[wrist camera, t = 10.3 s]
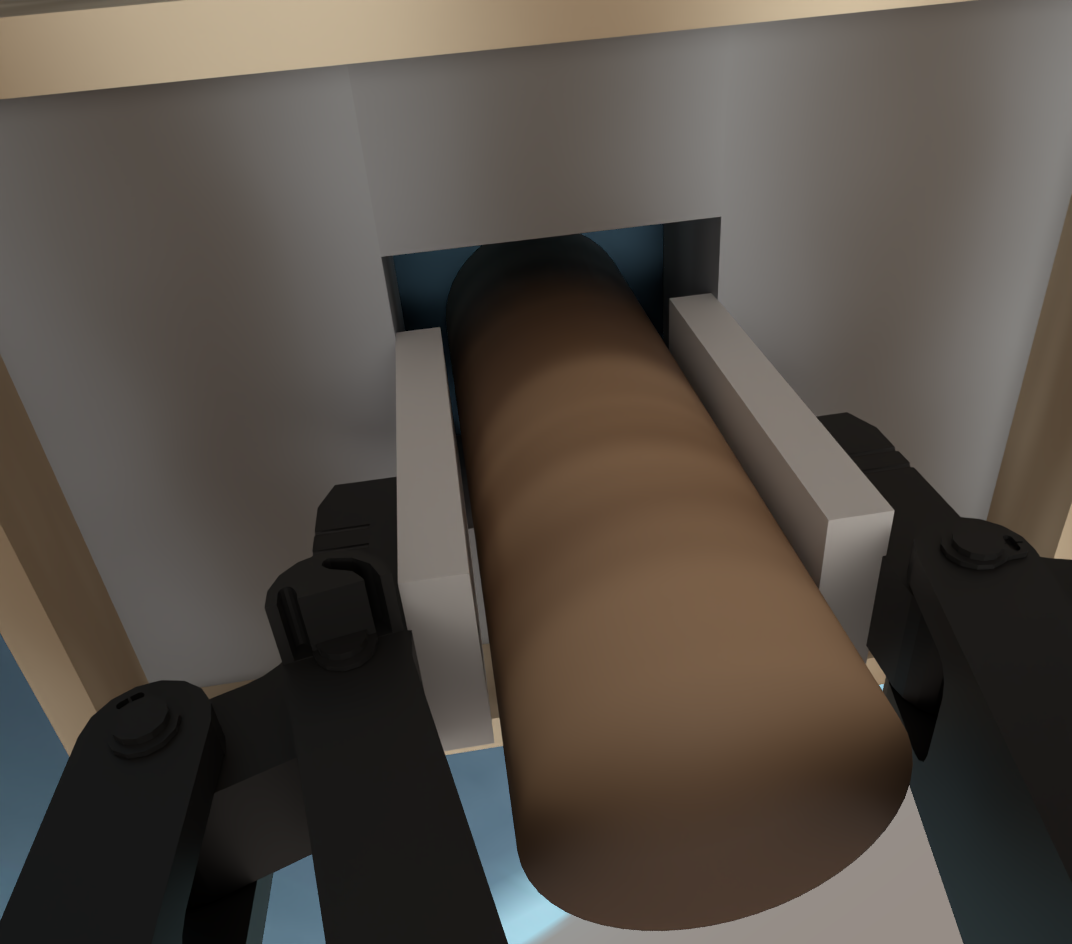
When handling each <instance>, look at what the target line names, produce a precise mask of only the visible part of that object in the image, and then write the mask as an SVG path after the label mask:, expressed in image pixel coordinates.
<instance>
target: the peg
mask: <svg viewBox="0 0 1072 944" xmlns="http://www.w3.org/2000/svg"><path fill="white" fill-rule="evenodd" d="M446 327H447V335H448V342H449V349H450V357H451V364H452V372H453V379H454V386H455V394H456V401H457V409H458V416H459V423H460V431H461V438H462V445H463V453H464V460H465V468H466V475H467V482H468V490H469V497H470V505H471V512H472V519H473V527H474V534H475V541H476V549H477V556H478V564H479V571H480V578H481V586H482V593H483V601H484V608H485V615H486V623H487V630H488V637H489V645H490V652H491V660H492V667H493V674H494V682H495V689H496V697H497V704H498V711H499V719H500V726H501V733H502V741H503V748H504V756H505V763H506V770H507V778H508V785H509V793H510V800H511V807H512V815H513V822H514V829H515V837H516V844H517V851H518V855H519V859H520V862H521V866H522V868H523V870H524V872H525V874H526V876H527V878H528V879H529V881H530V882H531V883H532V885H533V886H534V887H535V888H536V889H537V891H538V892H539V893H540V894H541V895H543V896H544V897H545V898H546V899H547V900H548V901H550V902H551V903H552V904H554V905H555V906H557V907H559V908H560V909H562V910H564V911H565V912H567V913H569V914H572V915H574V916H576V917H579V918H581V919H583V920H587V921H590V922H593V923H597V924H600V925H604V926H610V927H615V928H621V929H631V930H641V931H669V930H683V929H692V928H699V927H706V926H712V925H716V924H721V923H725V922H730V921H734V920H737V919H741V918H744V917H748V916H751V915H754V914H758V913H760V912H763V911H765V910H768V909H771V908H774V907H777V906H779V905H781V904H783V903H786V902H788V901H790V900H792V899H794V898H797V897H799V896H801V895H803V894H805V893H806V892H808V891H810V890H812V889H814V888H816V887H817V886H819V885H821V884H822V883H824V882H825V881H827V880H829V879H830V878H832V877H833V876H835V875H836V874H838V873H839V872H841V871H842V870H843V869H844V868H846V867H847V866H849V865H850V864H851V863H852V862H854V861H855V860H856V859H857V858H858V857H860V855H862V854H863V853H864V852H865V851H866V850H867V849H868V848H869V847H870V846H871V845H872V844H873V843H874V842H875V841H876V840H877V839H878V838H879V837H880V835H881V834H882V833H883V832H884V831H885V830H886V828H887V827H888V825H889V824H890V823H891V821H892V820H893V818H894V817H895V815H896V814H897V812H898V810H899V808H900V806H901V804H902V802H903V800H904V799H905V796H906V793H907V790H908V787H909V784H910V781H911V774H912V767H913V758H912V747H911V743H910V740H909V736H908V733H907V731H906V729H905V727H904V726H903V724H902V722H901V720H900V718H899V717H898V715H897V713H896V712H895V710H894V709H893V707H892V705H891V704H890V702H889V701H888V699H887V697H886V696H885V694H884V693H883V691H882V689H881V688H880V686H879V685H878V683H877V681H876V680H875V678H874V677H873V675H872V674H871V672H870V670H869V669H868V667H867V666H866V664H865V662H864V661H863V659H862V658H861V656H860V654H859V653H858V651H857V650H856V648H855V646H854V645H853V643H852V642H851V640H850V638H849V637H848V635H847V634H846V632H845V630H844V629H843V627H842V626H841V624H840V622H839V621H838V619H837V618H836V616H835V614H834V613H833V611H832V610H831V608H830V606H829V605H828V603H827V602H826V600H825V598H824V597H823V595H822V594H821V592H820V590H819V589H818V587H817V586H816V584H815V582H814V581H813V579H812V578H811V576H810V575H809V573H808V571H807V570H806V568H805V567H804V565H803V563H802V562H801V560H800V559H799V557H798V555H797V554H796V552H795V551H794V549H793V547H792V546H791V544H790V543H789V541H788V539H787V538H786V536H785V535H784V533H783V531H782V530H781V528H780V527H779V525H778V523H777V522H776V520H775V519H774V517H773V515H772V514H771V512H770V511H769V509H768V507H767V506H766V504H765V503H764V501H763V499H762V498H761V496H760V495H759V493H758V491H757V490H756V488H755V487H754V485H753V483H752V482H751V480H750V479H749V477H748V476H747V474H746V472H745V471H744V469H743V468H742V466H741V464H740V463H739V461H738V460H737V458H736V456H735V455H734V453H733V452H732V450H731V448H730V447H729V445H728V444H727V442H726V440H725V439H724V437H723V436H722V434H721V432H720V431H719V429H718V428H717V426H716V424H715V423H714V421H713V420H712V418H711V416H710V415H709V413H708V412H707V410H706V408H705V407H704V405H703V404H702V402H701V400H700V399H699V397H698V396H697V394H696V392H695V391H694V389H693V388H692V386H691V384H690V383H689V381H688V380H687V378H686V377H685V375H684V373H683V372H682V370H681V369H680V367H679V365H678V364H677V362H676V361H675V359H674V357H673V356H672V354H671V353H670V351H669V349H668V348H667V346H666V345H665V343H664V341H663V340H662V338H661V337H660V335H659V333H658V332H657V330H656V329H655V327H654V325H653V324H652V322H651V321H650V319H649V317H648V316H647V314H646V313H645V311H644V309H643V308H642V306H641V305H640V303H639V301H638V300H637V298H636V297H635V295H634V293H633V292H632V290H631V289H630V287H629V285H628V284H627V282H626V281H625V279H624V278H623V276H622V274H621V273H620V271H619V270H618V268H617V266H616V265H615V263H614V262H613V260H612V259H611V258H610V257H609V255H608V254H607V253H606V252H605V251H604V250H603V249H602V248H601V247H600V246H599V245H597V244H596V243H595V242H593V241H592V240H591V239H589V238H587V237H585V236H583V235H581V234H580V233H578V234H570V235H561V236H553V237H545V238H536V239H528V240H519V241H511V242H502V243H494V244H486V245H483V246H481V247H480V248H479V249H478V250H477V251H475V252H474V253H473V254H472V255H471V257H470V258H469V259H468V260H467V261H466V262H465V263H464V265H463V266H462V268H461V269H460V271H459V272H458V274H457V276H456V278H455V280H454V282H453V284H452V287H451V290H450V292H449V296H448V301H447V306H446Z"/></svg>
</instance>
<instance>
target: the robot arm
mask: <svg viewBox="0 0 1072 944" xmlns="http://www.w3.org/2000/svg"><path fill="white" fill-rule="evenodd" d="M669 351H670V353H671V354H672V356H673V357H674V359H675V361H676V362H677V364H678V365H679V367H680V369H681V370H682V372H683V373H684V375H685V377H686V378H687V380H688V381H689V383H690V384H691V386H692V388H693V389H694V391H695V392H696V394H697V396H698V397H699V399H700V400H701V402H702V404H703V405H704V407H705V408H706V410H707V412H708V413H709V415H710V416H711V418H712V420H713V421H714V423H715V424H716V426H717V428H718V429H719V431H720V432H721V434H722V436H723V437H724V439H725V440H726V442H727V444H728V445H729V447H730V448H731V450H732V452H733V453H734V455H735V456H736V458H737V460H738V461H739V463H740V464H741V466H742V468H743V469H744V471H745V472H746V474H747V476H748V477H749V479H750V480H751V482H752V483H753V485H754V487H755V488H756V490H757V491H758V493H759V495H760V496H761V498H762V499H763V501H764V503H765V504H766V506H767V507H768V509H769V511H770V512H771V514H772V515H773V517H774V519H775V520H776V522H777V523H778V525H779V527H780V528H781V530H782V531H783V533H784V535H785V536H786V538H787V539H788V541H789V543H790V544H791V546H792V547H793V549H794V551H795V552H796V554H797V555H798V557H799V559H800V560H801V562H802V563H803V565H804V567H805V568H806V570H807V571H808V573H809V575H810V576H811V578H812V579H813V581H814V582H815V584H816V586H817V587H818V589H819V590H820V592H821V594H822V595H823V597H824V598H825V600H826V602H827V603H828V605H829V606H830V608H831V610H832V611H833V613H834V614H835V616H836V618H837V619H838V621H839V622H840V624H841V626H842V627H843V629H844V630H845V632H846V634H847V635H848V637H849V638H850V640H851V642H852V643H853V645H854V646H855V648H856V650H857V651H858V653H859V654H860V656H861V658H862V659H863V661H864V662H865V664H866V662H867V656H868V651H870V652H871V654H872V655H873V657H874V658H875V660H876V662H877V663H878V665H879V666H880V668H881V669H882V671H883V672H884V674H885V675H886V678H885V683H884V688H883V693H884V694H885V696H886V697H887V699H888V701H889V702H890V704H891V705H892V707H893V709H894V710H895V712H896V713H897V715H898V717H899V718H900V720H901V722H902V724H903V726H904V727H905V729H906V731H907V733H908V736H909V740H910V743H911V747H912V758H913V767H912V774H911V781H910V784H909V785H910V788H911V791H912V794H913V797H914V800H915V803H916V806H917V809H918V812H919V814H920V817H921V820H922V823H923V826H924V829H925V832H926V835H927V838H928V841H929V844H930V847H931V850H932V852H933V856H934V858H935V861H936V864H937V867H938V870H939V873H940V876H941V879H942V882H943V884H944V888H945V890H946V893H947V896H948V899H949V902H950V905H951V908H952V911H953V914H954V917H955V920H956V923H957V926H958V929H959V932H960V934H961V937H962V940H963V943H964V944H1072V560H1070V559H1055V558H1046V557H1040V556H1039V554H1038V553H1037V551H1036V550H1035V549H1034V548H1033V547H1032V546H1031V545H1030V544H1029V543H1028V542H1027V541H1026V540H1025V539H1024V538H1023V537H1022V536H1021V535H1019V534H1017V533H1015V532H1013V531H1011V530H1010V529H1008V528H1006V527H1004V526H1002V525H999V524H995V523H992V522H989V521H985V520H982V519H976V518H964V517H960V516H959V515H958V514H957V513H956V511H955V510H954V509H953V508H952V507H951V506H950V505H949V504H948V503H947V502H946V501H945V500H944V499H943V498H942V497H941V495H940V494H939V493H938V492H937V491H936V490H935V489H934V488H933V487H932V486H931V485H930V484H929V483H928V482H927V481H926V479H925V478H924V477H923V476H922V475H921V474H920V473H919V472H918V471H917V470H916V469H915V468H914V467H910V462H909V461H908V460H907V459H906V458H905V457H904V456H903V455H902V454H901V453H900V452H899V451H895V446H894V445H893V444H892V443H891V442H890V441H889V440H888V439H887V438H886V437H885V436H884V435H883V434H882V433H881V432H880V430H879V429H878V428H877V427H875V426H873V425H871V424H869V423H867V422H865V421H863V420H861V419H860V418H858V417H856V416H854V415H852V414H850V413H848V412H845V413H837V414H830V415H823V416H815V415H814V414H813V413H812V411H811V410H810V409H809V408H808V407H807V406H806V404H805V403H804V402H803V401H802V400H801V398H800V397H799V396H798V395H797V394H796V392H795V391H794V390H793V389H792V388H791V386H790V385H789V384H788V383H787V382H786V380H785V379H784V378H783V377H782V376H781V375H780V373H779V372H778V371H777V370H776V369H775V367H774V366H773V365H772V364H771V363H770V361H769V360H768V359H767V358H766V357H765V355H764V354H763V353H762V352H761V351H760V349H759V348H758V347H757V346H756V345H755V343H754V342H753V341H752V340H751V339H750V338H749V336H748V335H747V334H746V333H745V332H744V330H743V329H742V328H741V327H740V326H739V324H738V323H737V322H736V321H735V320H734V318H733V317H732V316H731V315H730V314H729V312H728V311H727V310H726V309H725V308H724V307H723V305H722V304H721V303H720V302H719V301H718V300H717V299H716V298H715V297H714V295H713V294H712V293H708V294H700V295H692V296H684V297H676V298H669ZM395 352H396V451H397V477H390V478H383V479H375V480H368V481H361V482H354V483H346V484H339V485H334V487H333V488H332V489H331V491H330V492H329V493H328V495H327V496H326V497H325V499H324V500H323V501H322V503H321V504H320V505H319V507H318V508H317V517H316V525H315V536H314V541H313V549H312V552H313V556H312V557H310V558H307V559H305V560H302V561H299V562H297V563H296V564H294V565H293V566H292V567H290V568H289V569H287V570H286V571H284V572H283V573H282V574H280V575H279V576H278V577H277V579H276V580H275V581H274V583H273V584H272V585H271V587H270V588H269V589H268V591H267V595H266V601H265V607H264V608H265V611H266V614H267V617H268V620H269V623H270V627H271V630H272V633H273V636H274V639H275V642H276V645H277V648H278V651H279V654H280V657H281V660H282V662H281V663H280V664H279V665H278V666H277V667H275V668H274V669H272V670H271V671H270V672H268V673H267V674H265V675H264V676H262V677H260V678H258V679H256V680H254V681H252V682H250V683H248V684H246V685H243V686H241V687H238V688H236V689H233V690H231V691H228V692H226V693H223V694H221V695H218V696H216V697H213V698H211V699H209V698H208V697H207V695H206V694H205V692H204V691H203V689H202V688H200V687H198V686H196V685H193V684H191V683H189V682H186V681H179V680H160V681H156V682H152V683H148V684H145V685H141V686H137V687H134V688H133V689H131V690H129V691H127V692H125V693H123V694H121V695H119V696H117V697H115V698H113V699H111V700H110V701H109V702H108V703H107V704H106V705H105V706H103V707H102V708H101V709H100V710H99V711H98V712H96V713H95V714H94V715H93V716H92V717H91V718H90V719H89V721H88V722H87V724H86V725H85V727H84V729H83V730H82V732H81V733H80V735H79V736H78V738H77V740H76V743H75V745H74V747H73V750H72V752H71V755H70V757H69V759H68V762H67V764H66V766H65V769H64V771H63V773H62V776H61V778H60V781H59V783H58V785H57V788H56V790H55V792H54V795H53V797H52V800H51V802H50V804H49V807H48V809H47V811H46V814H45V816H44V819H43V821H42V823H41V826H40V828H39V830H38V833H37V835H36V838H35V840H34V842H33V845H32V847H31V849H30V852H29V854H28V856H27V859H26V861H25V864H24V866H23V868H22V871H21V873H20V875H19V878H18V880H17V883H16V885H15V887H14V890H13V892H12V894H11V897H10V899H9V902H8V904H7V906H6V909H5V911H4V913H3V916H2V918H1V921H0V944H262V940H263V934H264V928H265V921H266V915H267V909H268V903H269V896H270V890H271V884H272V878H273V872H275V871H277V870H280V869H282V868H284V867H286V866H288V865H290V864H292V863H294V862H296V861H298V860H300V859H302V858H305V857H307V856H309V855H311V854H312V856H313V863H314V869H315V876H316V882H317V889H318V895H319V902H320V908H321V915H322V921H323V928H324V934H325V941H326V944H508V942H507V939H506V936H505V933H504V930H503V927H502V924H501V921H500V918H499V915H498V912H497V909H496V906H495V903H494V900H493V897H492V894H491V891H490V888H489V885H488V882H487V879H486V876H485V873H484V870H483V867H482V864H481V861H480V858H479V855H478V852H477V849H476V846H475V843H474V840H473V837H472V834H471V831H470V828H469V825H468V822H467V819H466V816H465V813H464V810H463V807H462V804H461V801H460V798H459V795H458V792H457V789H456V786H455V783H454V780H453V777H452V774H451V771H450V768H449V765H448V762H447V759H446V756H445V753H444V751H449V750H455V749H461V748H468V747H474V746H480V745H486V744H492V743H494V735H493V727H492V719H491V710H490V702H489V694H488V686H487V678H486V670H485V662H484V654H483V646H482V638H481V630H480V622H479V614H478V605H477V597H476V589H475V581H474V573H473V565H472V557H471V549H470V541H469V533H468V525H467V517H466V509H465V500H464V492H463V484H462V476H461V468H460V460H459V453H458V447H457V440H456V433H455V426H454V419H453V412H452V405H451V398H450V391H449V384H448V377H447V371H446V364H445V357H444V350H443V343H442V336H441V329H440V327H436V328H428V329H420V330H412V331H404V332H396V341H395Z"/></svg>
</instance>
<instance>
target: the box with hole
mask: <svg viewBox="0 0 1072 944" xmlns="http://www.w3.org/2000/svg"><path fill="white" fill-rule="evenodd" d="M663 223H664V243H663V341H664V343H665V345H666V346H667V348H668V349H669V298H676V297H684V296H692V295H700V294H708V293H712V294H713V295H714V297H715V298H716V299H717V300H718V301H719V302H720V303H721V304H722V305H723V307H724V308H725V309H726V310H727V311H728V312H729V314H730V315H731V316H732V317H733V318H734V320H735V321H736V322H737V323H738V324H739V326H740V327H741V328H742V329H743V330H744V332H745V333H746V334H747V335H748V336H749V338H750V339H751V340H752V341H753V342H754V343H755V345H756V346H757V347H758V348H759V349H760V351H761V352H762V353H763V354H764V355H765V357H766V358H767V359H768V360H769V361H770V363H771V364H772V365H773V366H774V367H775V369H776V370H777V371H778V372H779V373H780V375H781V376H782V377H783V378H784V379H785V380H786V382H787V383H788V384H789V385H790V386H791V388H792V389H793V390H794V391H795V392H796V394H797V395H798V396H799V397H800V398H801V400H802V401H803V402H804V403H805V404H806V406H807V407H808V408H809V409H810V410H811V411H812V413H813V414H814V415H815V416H823V415H830V414H837V413H845V412H848V413H850V414H852V415H854V416H856V417H858V418H860V419H861V420H863V421H865V422H867V423H869V424H871V425H873V426H875V427H877V428H878V429H879V430H880V432H881V433H882V434H883V435H884V436H885V437H886V438H887V439H888V440H889V441H890V442H891V443H892V444H893V445H894V446H895V451H899V452H900V453H901V454H902V455H903V456H904V457H905V458H906V459H907V460H908V461H909V462H910V467H914V468H915V469H916V470H917V471H918V472H919V473H920V474H921V475H922V476H923V477H924V478H925V479H926V481H927V482H928V483H929V484H930V485H931V486H932V487H933V488H934V489H935V490H936V491H937V492H938V493H939V494H940V495H941V497H942V498H943V499H944V500H945V501H946V502H947V503H948V504H949V505H950V506H951V507H952V508H953V509H954V510H955V511H956V513H957V514H958V515H959V516H960V517H964V518H976V519H982V520H985V521H989V522H992V523H995V524H999V525H1002V526H1004V527H1006V528H1008V529H1010V530H1011V531H1013V532H1015V533H1017V534H1019V535H1021V536H1022V537H1023V538H1024V539H1025V540H1026V541H1027V542H1028V543H1029V544H1030V545H1031V546H1032V547H1033V548H1034V549H1035V550H1036V551H1037V553H1038V554H1039V556H1040V557H1046V558H1055V559H1070V560H1072V0H0V633H1V635H2V637H3V639H4V640H5V642H6V644H7V646H8V648H9V649H10V651H11V653H12V655H13V657H14V658H15V660H16V662H17V664H18V665H19V667H20V669H21V671H22V673H23V674H24V676H25V678H26V680H27V682H28V683H29V685H30V687H31V689H32V690H33V692H34V694H35V696H36V698H37V699H38V701H39V703H40V705H41V707H42V708H43V710H44V712H45V714H46V716H47V717H48V719H49V721H50V723H51V724H52V726H53V728H54V730H55V732H56V733H57V735H58V737H59V739H60V741H61V742H62V744H63V746H64V748H65V749H66V751H67V753H68V755H69V757H70V755H71V752H72V750H73V747H74V745H75V743H76V740H77V738H78V736H79V735H80V733H81V732H82V730H83V729H84V727H85V725H86V724H87V722H88V721H89V719H90V718H91V717H92V716H93V715H94V714H95V713H96V712H98V711H99V710H100V709H101V708H102V707H103V706H105V705H106V704H107V703H108V702H109V701H110V700H111V699H113V698H115V697H117V696H119V695H121V694H123V693H125V692H127V691H129V690H131V689H133V688H134V687H137V686H141V685H145V684H148V683H152V682H156V681H160V680H179V681H186V682H189V683H191V684H193V685H196V686H198V687H200V688H202V689H203V691H204V692H205V694H206V695H207V697H208V698H209V699H211V698H213V697H216V696H218V695H221V694H223V693H226V692H228V691H231V690H233V689H236V688H238V687H241V686H243V685H246V684H248V683H250V682H252V681H254V680H256V679H258V678H260V677H262V676H264V675H265V674H267V673H268V672H270V671H271V670H272V669H274V668H275V667H277V666H278V665H279V664H280V663H281V662H282V660H281V657H280V654H279V651H278V648H277V645H276V642H275V639H274V636H273V633H272V630H271V627H270V623H269V620H268V617H267V614H266V611H265V608H264V607H265V601H266V595H267V591H268V589H269V588H270V587H271V585H272V584H273V583H274V581H275V580H276V579H277V577H278V576H279V575H280V574H282V573H283V572H284V571H286V570H287V569H289V568H290V567H292V566H293V565H294V564H296V563H297V562H299V561H302V560H305V559H307V558H310V557H312V556H313V552H312V549H313V541H314V536H315V525H316V517H317V508H318V507H319V505H320V504H321V503H322V501H323V500H324V499H325V497H326V496H327V495H328V493H329V492H330V491H331V489H332V488H333V487H334V485H339V484H346V483H354V482H361V481H368V480H375V479H383V478H390V477H397V451H396V352H395V341H396V332H404V331H405V325H404V319H403V313H402V307H401V301H400V295H399V289H398V283H397V277H396V271H395V265H394V259H393V255H401V254H410V253H418V252H426V251H435V250H443V249H452V248H460V247H469V246H477V245H486V244H494V243H502V242H511V241H519V240H528V239H536V238H545V237H553V236H561V235H570V234H578V233H587V232H595V231H604V230H612V229H621V228H629V227H637V226H646V225H654V224H663ZM456 440H457V447H458V453H459V460H460V468H461V476H462V484H463V492H464V500H465V509H466V517H467V525H468V533H469V541H470V549H471V557H472V565H473V573H474V581H475V589H476V597H477V605H478V614H479V622H480V630H481V638H482V646H483V654H484V662H485V670H486V678H487V686H488V694H489V702H490V710H491V719H492V727H493V735H494V743H492V744H486V745H480V746H474V747H468V748H461V749H455V750H449V751H444V753H445V755H449V754H455V753H461V752H468V751H474V750H480V749H486V748H492V747H498V746H503V741H502V733H501V726H500V719H499V711H498V704H497V697H496V689H495V682H494V674H493V667H492V660H491V652H490V645H489V637H488V630H487V623H486V615H485V608H484V601H483V593H482V586H481V578H480V571H479V564H478V556H477V549H476V541H475V534H474V527H473V519H472V512H471V505H470V497H469V490H468V482H467V475H466V468H465V460H464V453H463V445H462V438H461V435H457V436H456ZM866 666H867V667H868V669H869V670H870V672H871V674H872V675H873V677H874V678H875V680H876V681H877V683H878V685H880V684H884V683H885V678H886V675H885V674H884V672H883V671H882V669H881V668H880V666H879V665H878V663H877V662H876V660H875V658H874V657H873V655H872V654H871V652H870V651H868V656H867V662H866Z"/></svg>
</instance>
